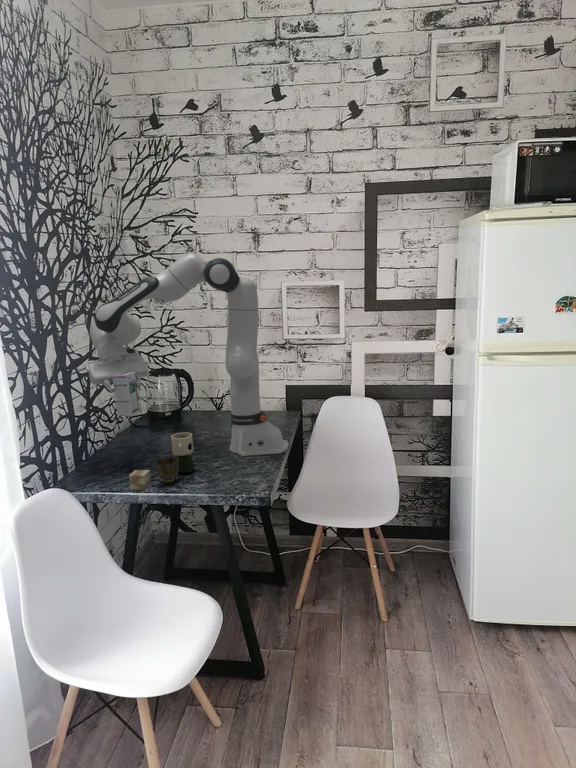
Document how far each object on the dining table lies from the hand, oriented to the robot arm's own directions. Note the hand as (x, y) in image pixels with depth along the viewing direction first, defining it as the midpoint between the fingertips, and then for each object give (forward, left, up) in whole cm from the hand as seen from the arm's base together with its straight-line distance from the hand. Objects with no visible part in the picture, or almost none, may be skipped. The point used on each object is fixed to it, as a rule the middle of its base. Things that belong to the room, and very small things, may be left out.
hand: (126, 388), depth 192 cm
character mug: (-20, +4, -29) cm, 35 cm away
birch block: (-10, +18, -29) cm, 35 cm away
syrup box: (+1, 0, -9) cm, 9 cm away
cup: (-18, +14, -29) cm, 37 cm away
